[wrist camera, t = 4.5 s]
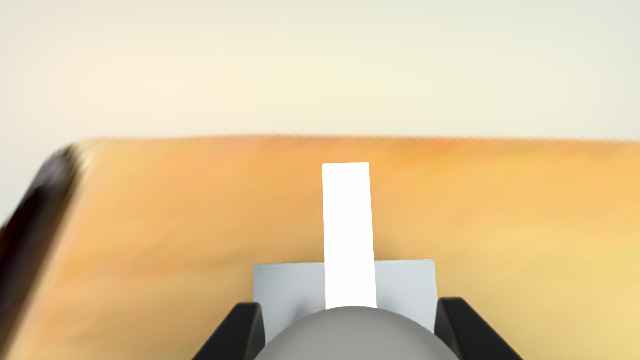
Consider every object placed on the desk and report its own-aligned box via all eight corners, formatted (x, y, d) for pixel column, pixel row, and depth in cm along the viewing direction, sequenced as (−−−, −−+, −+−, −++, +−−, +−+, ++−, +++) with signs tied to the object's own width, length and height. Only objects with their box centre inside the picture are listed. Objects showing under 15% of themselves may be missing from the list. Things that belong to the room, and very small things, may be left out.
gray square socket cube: (416, 411, 18) (451, 463, 13) (278, 413, 19) (250, 465, 13) (405, 270, 20) (433, 259, 14) (277, 274, 20) (253, 264, 14)
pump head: (402, 412, 14) (508, 600, 5) (294, 414, 14) (222, 602, 5) (390, 233, 15) (459, 147, 6) (293, 236, 15) (233, 156, 7)
